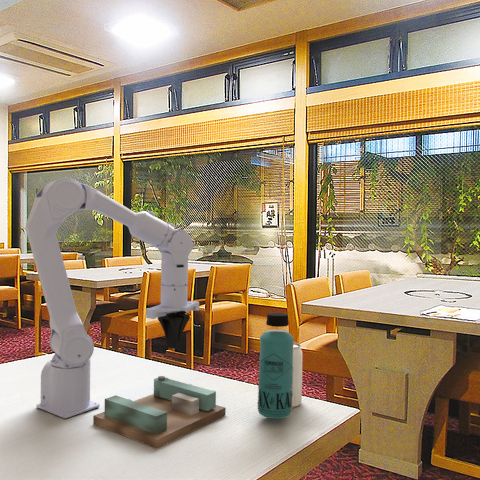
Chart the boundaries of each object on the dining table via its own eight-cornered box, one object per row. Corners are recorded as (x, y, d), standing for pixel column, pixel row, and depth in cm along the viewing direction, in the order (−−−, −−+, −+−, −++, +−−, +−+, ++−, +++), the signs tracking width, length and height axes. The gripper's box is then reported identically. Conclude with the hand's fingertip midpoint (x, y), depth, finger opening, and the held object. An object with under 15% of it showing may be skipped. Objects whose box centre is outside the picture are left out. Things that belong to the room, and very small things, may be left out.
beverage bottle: (255, 413, 96) (257, 310, 95) (289, 413, 96) (291, 310, 96) (259, 427, 89) (261, 316, 88) (295, 426, 90) (298, 316, 89)
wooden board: (93, 423, 89) (93, 399, 89) (164, 397, 104) (164, 375, 104) (156, 448, 80) (157, 421, 80) (225, 415, 94) (225, 391, 94)
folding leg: (150, 394, 100) (150, 377, 100) (161, 390, 102) (161, 373, 102) (206, 411, 91) (206, 392, 91) (216, 407, 94) (216, 388, 94)
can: (300, 410, 98) (301, 349, 97) (267, 407, 99) (268, 347, 99) (302, 399, 104) (304, 342, 104) (272, 396, 105) (273, 340, 105)
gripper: (163, 289, 99) (162, 357, 99) (210, 283, 111) (209, 344, 111) (139, 286, 103) (138, 351, 103) (186, 280, 115) (185, 339, 115)
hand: (173, 347), depth 108 cm, fingers closed
